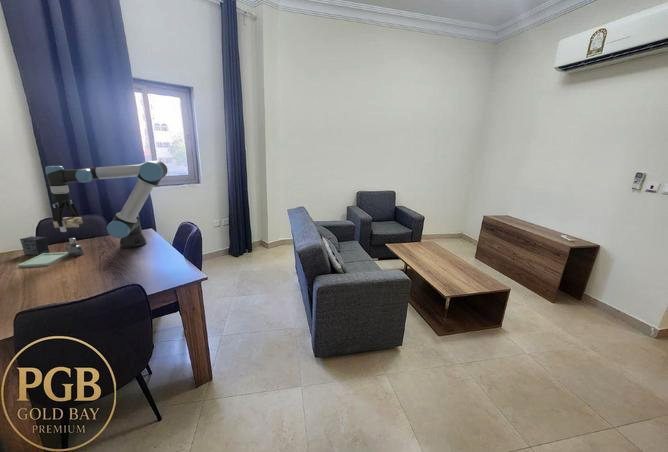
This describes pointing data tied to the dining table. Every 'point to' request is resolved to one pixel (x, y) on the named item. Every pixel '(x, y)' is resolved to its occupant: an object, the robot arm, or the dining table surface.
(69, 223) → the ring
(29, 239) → the small box
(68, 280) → the dining table surface
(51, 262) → the tray
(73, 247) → the dark grey rounded piece
